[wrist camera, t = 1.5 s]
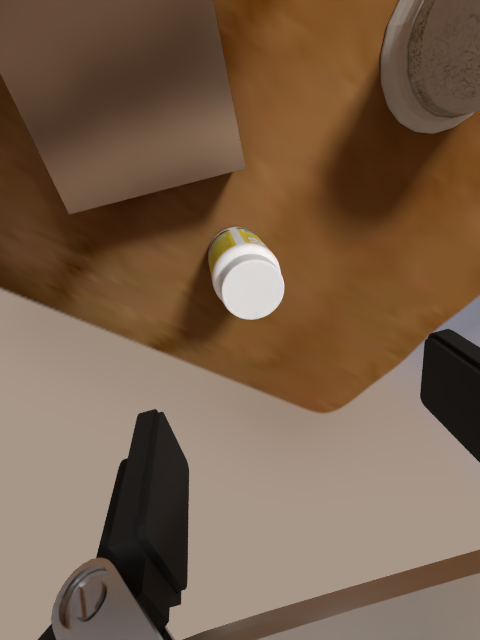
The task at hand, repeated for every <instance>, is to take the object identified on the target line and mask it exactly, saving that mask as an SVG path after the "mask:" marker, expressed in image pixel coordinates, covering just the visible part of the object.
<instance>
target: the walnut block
mask: <svg viewBox="0 0 480 640" xmlns="http://www.w3.org/2000/svg"><path fill="white" fill-rule="evenodd" d="M0 74H1V76H2V78H3V80H4V82H5V84H6V86H7V88H8V90H9V92H10V94H11V97H12V99H13V101H14V103H15V105H16V107H17V109H18V111H19V113H20V115H21V117H22V119H23V121H24V123H25V125H26V127H27V129H28V131H29V133H30V135H31V137H32V140H33V142H34V144H35V146H36V148H37V150H38V152H39V154H40V156H41V158H42V160H43V162H44V164H45V166H46V168H47V170H48V172H49V174H50V176H51V178H52V180H53V183H54V185H55V187H56V189H57V191H58V193H59V195H60V197H61V199H62V201H63V203H64V205H65V207H66V209H67V211H68V213H69V214H73V213H77V212H81V211H85V210H88V209H92V208H96V207H100V206H104V205H108V204H111V203H115V202H119V201H123V200H127V199H131V198H134V197H138V196H142V195H146V194H150V193H154V192H157V191H161V190H165V189H169V188H173V187H177V186H180V185H184V184H188V183H192V182H196V181H200V180H203V179H207V178H211V177H215V176H219V175H223V174H226V173H230V172H234V171H238V170H242V169H246V168H245V162H244V157H243V152H242V147H241V142H240V137H239V131H238V126H237V121H236V116H235V111H234V105H233V100H232V95H231V90H230V85H229V80H228V74H227V69H226V64H225V59H224V54H223V48H222V43H221V38H220V33H219V28H218V22H217V17H216V12H215V7H214V2H213V0H0Z"/></svg>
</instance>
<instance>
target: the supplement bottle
mask: <svg viewBox="0 0 480 640" xmlns="http://www.w3.org/2000/svg"><path fill="white" fill-rule="evenodd" d="M208 261H209V267H210V272H211V278H212V283H213V287H214V290H215V292H216V294H217V296H218V297H219V298H220V299H221V300H222V301H223V303H224V305H225V306H226V308H227V309H228V310H229V311H230V312H231V313H232V314H233V315H235V316H237V317H239V318H242V319H249V320H252V319H259V318H262V317H265V316H267V315H268V314H270V313H271V312H273V311H274V310H275V309H276V308H277V306H278V305H279V304H280V302H281V300H282V298H283V294H284V280H283V277H282V275H281V271H280V266H279V263H278V261H277V259H276V257H275V256H274V254H273V253H272V252H271V251H270V250H269V249H268V248H267V247H266V246H265V245H264V243H263V242H262V241H261V240H260V239H259V238H258V237H257V236H256V235H255V234H254V233H253V232H252V231H250V230H248V229H245V228H242V227H232V228H228V229H225V230H223V231H221V232H220V233H219V234H217V235H216V236H215V237H214V239H213V240H212V242H211V244H210V246H209V250H208Z"/></svg>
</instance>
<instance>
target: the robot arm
mask: <svg viewBox="0 0 480 640" xmlns="http://www.w3.org/2000/svg"><path fill="white" fill-rule="evenodd" d="M420 397H421V401H422V403H423V404H424V406H425V407H426V408H427V409H428V410H429V411H430V412H431V413H432V414H433V415H434V416H435V417H436V418H437V419H438V420H439V421H440V422H441V423H442V424H443V425H444V426H445V427H446V428H447V429H448V431H449V432H450V433H451V434H452V435H453V436H454V437H455V438H456V439H458V441H459V442H460V443H461V444H462V445H463V446H464V447H465V448H466V449H467V450H468V451H469V452H470V453H471V454H472V455H473V456H474V457H475V458H476V459H477V460H478V461H479V462H480V347H478V346H476V345H475V344H473V343H472V342H470V341H468V340H467V339H465V338H463V337H462V336H460V335H459V334H457V333H456V332H454V331H452V330H450V329H446V330H442V331H438V332H434V333H431V334H430V335H429V336H428V339H426V340H425V346H424V358H423V369H422V381H421V393H420ZM188 500H189V467H188V463H187V460H186V458H185V456H184V454H183V452H182V450H181V448H180V446H179V444H178V442H177V439H176V437H175V435H174V433H173V431H172V429H171V427H170V425H169V423H168V421H167V419H166V417H165V415H164V413H163V412H160V413H158V411H157V410H156V409H154V410H151V411H147V412H143V413H140V414H138V417H137V420H136V425H135V429H134V433H133V438H132V442H131V447H130V451H129V456H128V458H127V459H124V460H123V461H122V462H121V463H120V466H119V469H118V473H117V477H116V481H115V485H114V489H113V493H112V497H111V501H110V505H109V509H108V513H107V517H106V521H105V525H104V529H103V533H102V537H101V541H100V545H99V549H98V553H97V557H96V559H91V560H89V561H88V562H86V563H84V564H82V565H81V566H80V567H79V568H77V569H76V570H75V571H74V572H73V573H72V574H71V575H70V577H69V578H68V579H67V580H66V581H65V583H64V585H63V586H62V588H61V590H60V591H59V593H58V595H57V598H56V600H55V603H54V606H53V610H52V617H51V621H52V624H51V625H50V626H49V628H47V630H46V631H45V632H44V633H43V634H42V635H41V637H40V638H39V639H38V640H175V639H174V637H173V636H172V634H171V633H170V631H169V630H168V628H167V627H166V625H167V623H168V621H169V608H170V607H173V606H177V605H180V604H181V591H182V590H185V589H186V587H187V563H188ZM183 640H480V550H477V551H474V552H470V553H467V554H463V555H460V556H456V557H452V558H449V559H446V560H443V561H439V562H435V563H432V564H428V565H425V566H421V567H418V568H414V569H411V570H407V571H404V572H401V573H397V574H394V575H390V576H387V577H383V578H380V579H376V580H373V581H370V582H366V583H363V584H359V585H356V586H352V587H349V588H346V589H342V590H339V591H335V592H332V593H329V594H325V595H322V596H319V597H315V598H312V599H308V600H305V601H301V602H298V603H295V604H291V605H288V606H284V607H281V608H278V609H274V610H271V611H268V612H264V613H261V614H258V615H255V616H252V617H249V618H245V619H242V620H239V621H236V622H233V623H229V624H226V625H223V626H220V627H217V628H214V629H211V630H207V631H204V632H202V633H199V634H196V635H194V636H191V637H189V638H186V639H183Z"/></svg>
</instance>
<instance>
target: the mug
mask: <svg viewBox="0 0 480 640" xmlns="http://www.w3.org/2000/svg"><path fill="white" fill-rule="evenodd" d="M380 58H381V86H382V89H383V93H384V96H385V100H386V103H387V107H388V108H389V109H390V111H391V112H392V114H393V115H394V116H395V118H396V119H397V121H398V122H399V123H400V124H402V125H404V126H405V127H407V128H409V129H410V130H412V131H414V132H421V133H431V134H434V133H437V132H441V131H444V130H447V129H451V128H454V127H455V126H457V125H458V124H460V123H461V122H463V121H464V120H466V119H467V118H469V117H470V116H472V115H473V114H474V113H475V112H480V0H399V1H398V3H397V5H396V7H395V9H394V12H393V14H392V16H391V18H390V20H389V23H388V25H387V28H386V33H385V38H384V42H383V47H382V51H381V56H380Z"/></svg>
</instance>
